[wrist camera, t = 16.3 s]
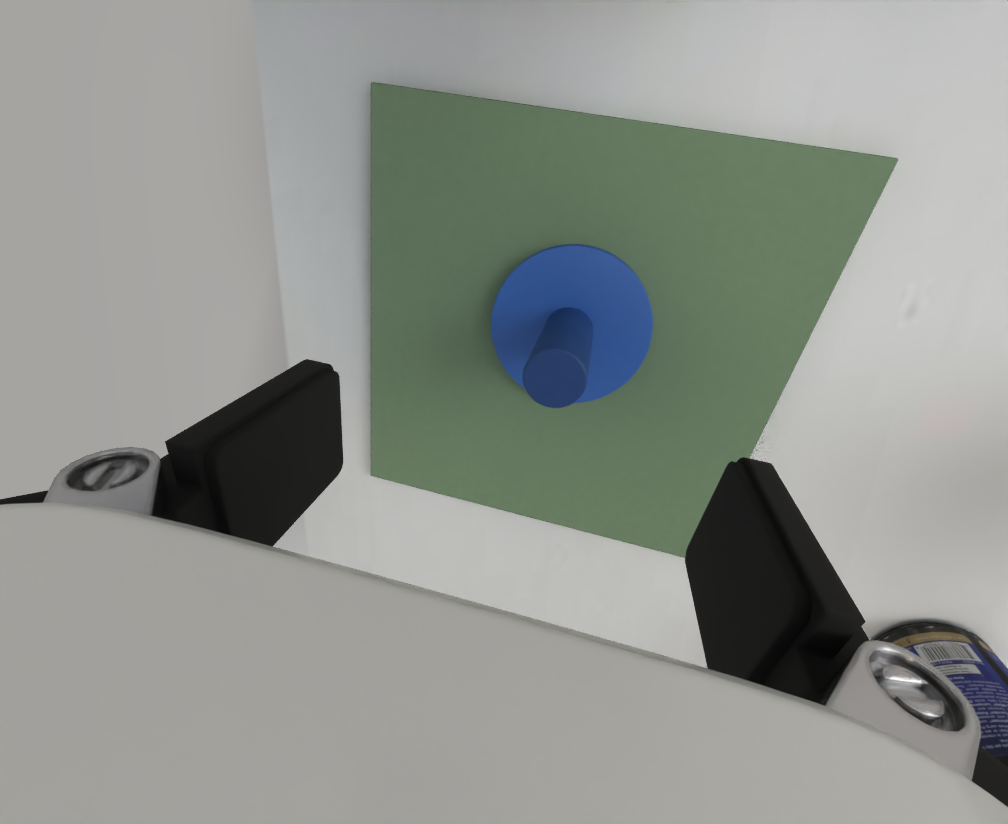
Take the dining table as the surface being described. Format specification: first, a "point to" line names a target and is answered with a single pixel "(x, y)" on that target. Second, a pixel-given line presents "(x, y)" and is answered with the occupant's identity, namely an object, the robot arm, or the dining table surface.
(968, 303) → the dining table surface
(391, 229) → the mat
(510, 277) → the blue peg stand
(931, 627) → the pill bottle
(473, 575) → the dining table surface
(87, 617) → the robot arm
